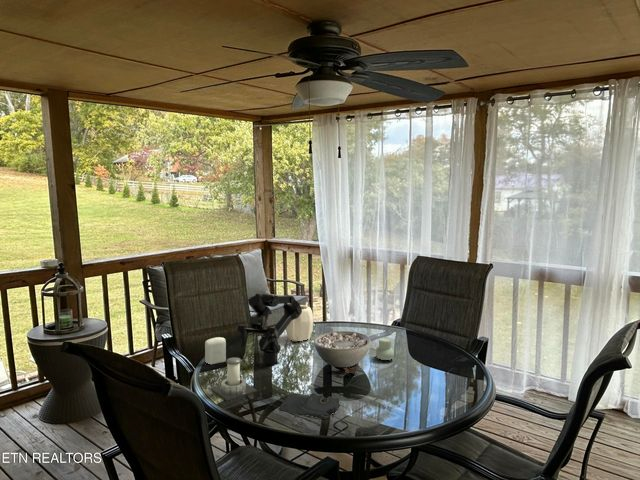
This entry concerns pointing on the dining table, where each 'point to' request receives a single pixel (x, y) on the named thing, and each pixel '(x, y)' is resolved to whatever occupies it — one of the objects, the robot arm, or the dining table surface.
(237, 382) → the cream bottle
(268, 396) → the dining table surface
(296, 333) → the watering can
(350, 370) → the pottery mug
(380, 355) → the air freshener
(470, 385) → the dining table surface
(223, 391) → the segmented ring base
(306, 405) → the dark slate chunk
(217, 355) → the photo printer
